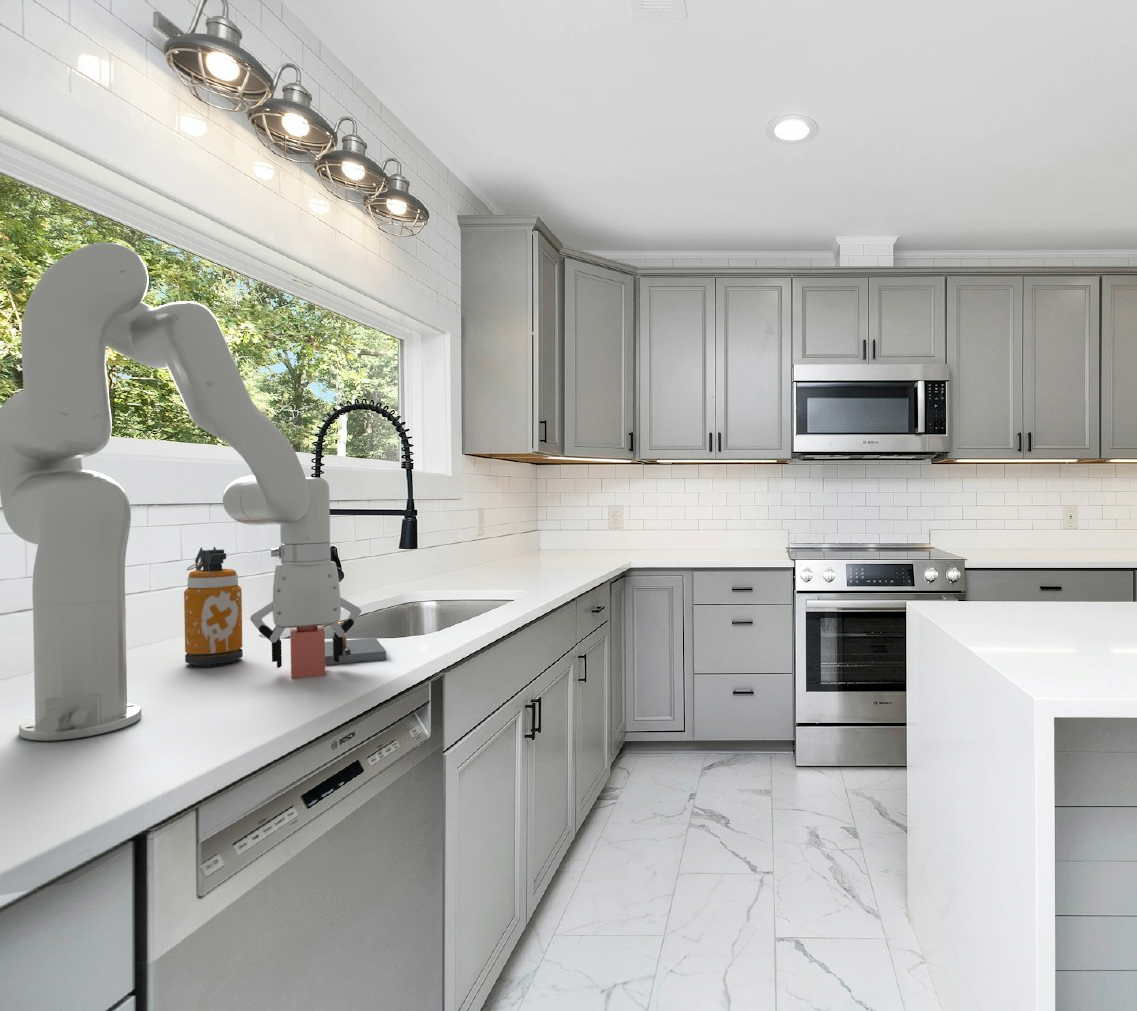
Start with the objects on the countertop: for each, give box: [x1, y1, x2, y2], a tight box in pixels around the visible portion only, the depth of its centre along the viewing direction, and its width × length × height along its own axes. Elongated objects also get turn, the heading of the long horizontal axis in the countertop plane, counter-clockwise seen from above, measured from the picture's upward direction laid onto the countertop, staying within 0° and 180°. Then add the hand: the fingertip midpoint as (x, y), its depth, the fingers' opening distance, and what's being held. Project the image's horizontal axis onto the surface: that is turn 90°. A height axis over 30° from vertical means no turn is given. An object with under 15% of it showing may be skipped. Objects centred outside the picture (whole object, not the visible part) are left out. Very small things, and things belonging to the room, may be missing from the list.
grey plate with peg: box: [325, 620, 387, 666], centre depth 130 cm, size 14×14×6 cm
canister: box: [183, 546, 244, 668], centre depth 127 cm, size 9×11×20 cm
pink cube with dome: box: [289, 625, 326, 679], centre depth 117 cm, size 5×5×8 cm
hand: (308, 662), depth 117 cm, fingers open, 8 cm apart
